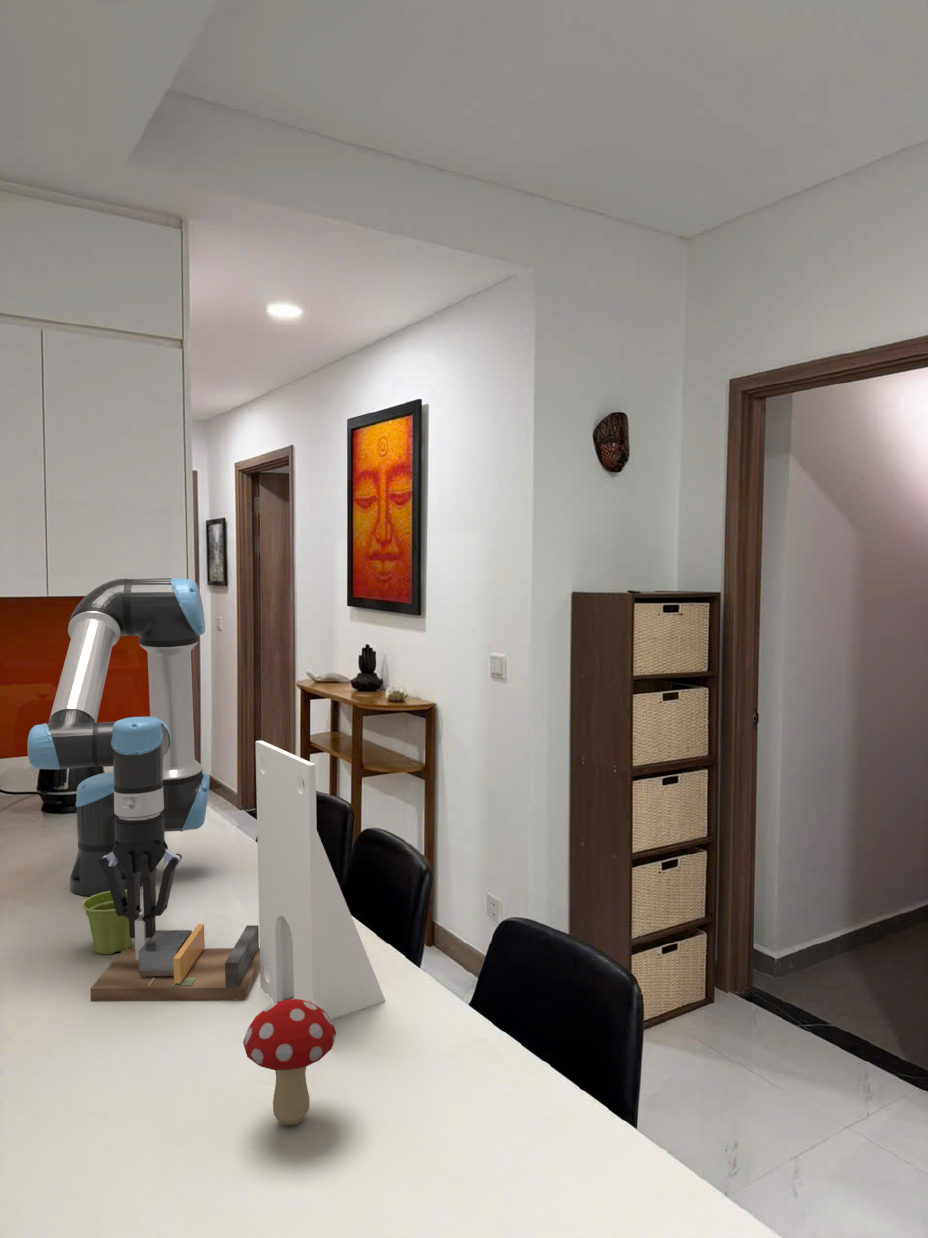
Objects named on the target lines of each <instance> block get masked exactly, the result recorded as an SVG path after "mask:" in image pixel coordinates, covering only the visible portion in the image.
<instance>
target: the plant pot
mask: <svg viewBox="0 0 928 1238" xmlns="http://www.w3.org/2000/svg"><path fill="white" fill-rule="evenodd" d="M125 892H126V896H127V890H125ZM82 908H83V910H84V911H85V914H86V916H87V919H88V921H89V927H90V928H89V929H90V932H91V936H92V942H93V947H94V951H95V952H96V953H98V954H101V955H112V954H114V953H116V952H120V953H121V952H122V951H123V950H124V949H130V947H131V946H132V944H133V938H130V935H129V919H128V918H127V917H125V916H118V915H117V913H116V910H115V906H114V902H113V899H112V895H111V892H110V891H107V892H103V893H99V894H96V895H93V896H88V897H87V898H86V899H85V900H84V901H83V902H82Z"/></svg>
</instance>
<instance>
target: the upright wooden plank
mask: <svg viewBox="0 0 928 1238" xmlns="http://www.w3.org/2000/svg"><path fill="white" fill-rule="evenodd" d="M205 940H206V938H205V924H204V923H198V924H197V925H196V926H195V928H194V929H193V930H192V933H191V935H190V936H189V938H188V939H187V940H186V942H185V943H184V945H183V946H182V947H181V949H180V950H179V951H178V953H177V954H176V956H175V957H174V958H173V960H174V983H181V982H182V980H183V979H184V977H185V976H186V974H187V973H188V971H189V970H190V968H191V967H192V965H193V964H194V962H195V961H196V959H197V958H198V956H199V955H200V953H201V952H202V950H203V949H204V948H206V947H205V946H206V944H205V942H206V941H205Z"/></svg>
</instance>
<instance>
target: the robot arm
mask: <svg viewBox="0 0 928 1238" xmlns="http://www.w3.org/2000/svg"><path fill="white" fill-rule="evenodd" d="M202 600H203V599H202V596H201V592H200V588H199V586H198V584H197V582H196V581H194V580H192V579H189V578H175V577H166V578H165V577H160V578H159V577H157V578H118V579H114V580H110V581H107V582H105V583H103V584H101V585H99V586H97V587H95V588H94V589H92V590H91V591H90V592H89V593H87V595H85V596H84V597H83V598H82V599H81V600H80V602H79V603H78V604H77V605H76V607H75V609H74V610H73V611H72V614H71V616H70V618H69V623H68V627H67V633H68V636H69V638H70V641H69V645H68V648H67V652H66V656H65V659H64V664H63V667H62V671H61V674H60V678H59V681H58V682H59V683H58V685H57V689H56V694H55V698H54V701H53V705H52V708H51V712H50V716H49V719H48V723H42V724H36V725H33V727H32V728H31V729H30V730H29V734H28V736H27V749H26V750H27V757H28V761H29V763H30V765H31V767H33V768H34V769H38V770H56V771H57V770H65V769H66V770H67V769H80V768H95V767H97V768H98V767H100V768H102V767H103V768H105V767H112V768H113V770H112V771H107V772H103V773H99V774H96V775H93V776H90V777H87V778H86V779H84V780H82V781H81V782H80V783H79V784H78V786H77V788H76V801H75V807H76V828H77V832H76V833H77V854H76V857H75V861H74V862H73V863H74V864H73V867H72V870H71V873H70V877H69V884H70V885H69V889H70V891H71V892H72V893H73V894H76V895H80V896H84V897H85V896H86V897H87V896H88V897H91V896H93V895H96V894H99V893H103V892H107V891H110V892H111V895H112V899H113V902H114V906H115V910H116V913H117V915H118V916H125V917H127V918H128V919H129V935H130V938H132V939H134V943H135V944H134V945H135V948H134V949H135V951H136V960H139V950H140V949H141V948H142V947H143V945H144V944H145V943H146V942H147V941H148V939H149V938H152V937H153V936H154V934H155V932H156V930H157V929H156V924H157V923H156V917H160V916H161V915H163V914H164V913H165V911H166V910H167V908H168V904H169V902H170V901H169V900H170V896H171V891H172V886H173V882H174V878H175V874H176V869H177V867H178V865H179V863H180V862H181V861H182V859H183V855H182V854H181V853H176V854H175V853H174V852H172V851H171V850H169V849H168V844H167V843H166V841H165V833H166V832H167V833H168V832H184V831H191V830H199V829H200V828H201V827H202V826H203V825H204V824H205V821H206V814H207V807H208V799H209V790H210V780H211V779H210V778H211V777H210V774H208V773H203V765H202V764H201V763H200V762H198V761H197V760H196V759H195V758H196V756H195V733H194V731H195V730H194V703H193V675H192V650H193V649H194V648H195V647H196V646H197V645H198V644H199V636H201V635H204V634H205V632H206V621H205V611H204V605H203V601H202ZM122 636H128V637H133V636H134V637H136V636H137V637H138V641H139V643H138V644H139V646H140V647H141V648H142V649H143V650H145V651H146V653H147V665H148V666H147V668H148V670H147V671H148V672H147V673H148V691H149V692H148V695H149V696H148V697H149V712H150V713H149V716H132V717H124V718H122V719H119V720H117V721H104V722H101V721H99V722H98V717H99V713H100V706H101V702H102V699H103V692H104V687H105V685H106V684H105V682H106V678H107V673H108V669H109V664H110V660H111V659H110V658H111V654H112V649H113V647H114V646H115V645H117V643H118V642H119V640H120V638H121V637H122ZM163 859H164V861H163V865H164V867H165V868H164V871H163V873H162V879H161V883H160V886H159V887H160V888H159V892H158V895H157V894H156V893H157V889H156V872H157V867H158V865H159V864H160V862H161V860H163ZM141 886H142V901H143V903H142V904H143V905H142V906H143V908H141ZM125 890H127V896H126V892H125ZM142 911H143V913H141V912H142ZM140 913H141V914H140Z"/></svg>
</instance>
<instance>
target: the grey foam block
mask: <svg viewBox="0 0 928 1238" xmlns="http://www.w3.org/2000/svg"><path fill="white" fill-rule="evenodd" d="M192 932H193V930H191V929H183V930H182V929H179V930H178V929H177V930H176V929H174V930H173V929H170V930H169V929H166V930H163V929H162V930H161V929H160V930H159V929H156V932H155V934H154V936H153V937H152V938H149V939H148V941H147V942H146V943H145V944H144V945H143V947H142V948H141V949H140V950H139V976H174V960H173V958H174V957H175V956H176V954H177V953H178V951H179V950H180V949H181V947H182V946H183V945H184V943H185V942H186V940H187V939H188V938H189V936H190V935H191V933H192Z"/></svg>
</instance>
